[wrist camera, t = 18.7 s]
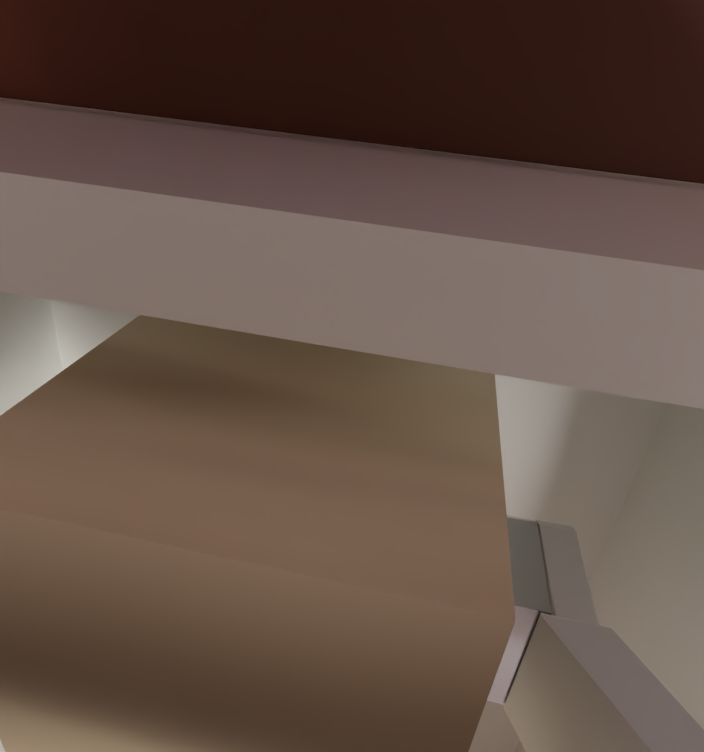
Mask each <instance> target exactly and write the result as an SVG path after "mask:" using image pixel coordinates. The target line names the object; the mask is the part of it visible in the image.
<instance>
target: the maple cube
mask: <svg viewBox="0 0 704 752" xmlns="http://www.w3.org/2000/svg"><path fill="white" fill-rule="evenodd" d="M515 621H516V620H515V608H514V596H513V584H512V573H511V561H510V549H509V537H508V526H507V514H506V502H505V490H504V478H503V467H502V455H501V443H500V431H499V420H498V408H497V396H496V384H495V374H491V373H485V372H479V371H473V370H467V369H461V368H455V367H449V366H443V365H437V364H431V363H425V362H419V361H413V360H407V359H401V358H395V357H389V356H383V355H377V354H371V353H365V352H359V351H353V350H347V349H341V348H335V347H329V346H323V345H317V344H311V343H305V342H299V341H293V340H287V339H281V338H276V337H270V336H264V335H258V334H252V333H246V332H240V331H234V330H228V329H222V328H216V327H210V326H204V325H198V324H192V323H186V322H180V321H174V320H168V319H162V318H156V317H150V316H144V315H139V316H138V317H136V318H135V319H134V320H132V321H131V322H129V323H128V324H127V325H125V326H124V327H123V328H121V329H120V330H118V331H117V332H116V333H114V334H113V335H111V336H110V337H109V338H107V339H106V340H105V341H103V342H102V343H100V344H99V345H98V346H96V347H95V348H93V349H92V350H91V351H89V352H88V353H86V354H85V355H84V356H82V357H81V358H80V359H78V360H77V361H75V362H74V363H73V364H71V365H70V366H68V367H67V368H66V369H64V370H63V371H61V372H60V373H59V374H57V375H56V376H55V377H53V378H52V379H50V380H49V381H48V382H46V383H45V384H43V385H42V386H41V387H39V388H38V389H37V390H35V391H34V392H32V393H31V394H30V395H28V396H27V397H25V398H24V399H23V400H21V401H20V402H18V403H17V404H16V405H14V406H13V407H12V408H10V409H9V410H7V411H6V412H5V413H3V414H2V415H0V740H1V742H2V745H3V747H4V750H5V752H468V751H469V749H470V746H471V743H472V740H473V738H474V735H475V732H476V729H477V726H478V724H479V721H480V718H481V715H482V713H483V710H484V707H485V704H486V701H487V699H488V696H489V693H490V690H491V687H492V685H493V682H494V679H495V676H496V674H497V671H498V668H499V665H500V662H501V660H502V657H503V654H504V651H505V649H506V646H507V643H508V640H509V637H510V635H511V632H512V629H513V626H514V624H515Z"/></svg>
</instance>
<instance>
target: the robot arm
mask: <svg viewBox="0 0 704 752" xmlns="http://www.w3.org/2000/svg"><path fill="white" fill-rule="evenodd" d="M507 526H508V537H509V549H510V561H511V573H512V584H513V596H514V608H515V620H516V621H515V624H514V626H513V629H512V632H511V635H510V637H509V640H508V643H507V646H506V649H505V651H504V654H503V657H502V660H501V662H500V665H499V668H498V671H497V674H496V676H495V679H494V682H493V685H492V687H491V690H490V693H489V696H488V699H487V701H491V702H494V703H498V704H502V705H504V708H503V709H504V710H505V712H506V714H507V716H508V718H509V720H510V722H511V724H512V726H513V728H514V729H515V731H516V733H517V735H518V737H519V739H520V741H521V743H522V745H523V747H524V749H525V750H526V752H704V730H703V729H702V727H701V726H700V725H699V724H698V723H697V722H696V721H695V720H694V719H693V718H692V716H691V715H690V714H689V713H688V712H687V711H686V710H685V709H684V708H683V707H682V705H681V704H680V703H679V702H678V701H677V700H676V699H675V698H674V697H673V695H672V694H671V693H670V692H669V691H668V690H667V689H666V688H665V687H664V686H663V684H662V683H661V682H660V681H659V680H658V679H657V678H656V677H655V676H654V675H653V673H652V672H651V671H650V670H649V669H648V668H647V667H646V666H645V665H644V664H643V662H642V661H641V660H640V659H639V658H638V657H637V656H636V655H635V654H634V652H633V651H632V650H631V649H630V648H629V647H628V646H627V645H626V644H625V643H624V641H623V640H622V639H621V638H620V637H619V636H618V635H617V634H616V633H615V632H614V630H613V629H612V628H608V627H604V626H599V622H598V618H597V614H596V609H595V605H594V601H593V597H592V593H591V589H590V585H589V581H588V577H587V573H586V568H585V564H584V560H583V556H582V552H581V548H580V544H579V540H578V536H577V532H576V531H575V529H574V528H573V527H572V526H568V525H562V524H556V523H551V522H545V521H539V520H535V521H533V520H530V519H524V518H519V517H514V516H508V515H507Z"/></svg>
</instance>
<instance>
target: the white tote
mask: <svg viewBox="0 0 704 752" xmlns="http://www.w3.org/2000/svg"><path fill="white" fill-rule="evenodd" d="M139 315H144V316H150V317H156V318H162V319H168V320H174V321H180V322H186V323H192V324H198V325H204V326H210V327H216V328H222V329H228V330H234V331H240V332H246V333H252V334H258V335H264V336H270V337H276V338H281V339H287V340H293V341H299V342H305V343H311V344H317V345H323V346H329V347H335V348H341V349H347V350H353V351H359V352H365V353H371V354H377V355H383V356H389V357H395V358H401V359H407V360H413V361H419V362H425V363H431V364H437V365H443V366H449V367H455V368H461V369H467V370H473V371H479V372H485V373H491V374H495V384H496V396H497V408H498V420H499V431H500V443H501V455H502V467H503V478H504V490H505V502H506V514H507V515H508V516H514V517H519V518H524V519H530V520H533V521H535V520H539V521H545V522H551V523H556V524H562V525H568V526H572V527H573V528H574V529H575V531H576V532H577V536H578V540H579V544H580V548H581V552H582V556H583V560H584V564H585V568H586V573H587V577H588V581H589V585H590V589H591V593H592V597H593V601H594V605H595V609H596V614H597V618H598V622H599V626H604V627H608V628H612V629H613V630H614V632H615V633H616V634H617V635H618V636H619V637H620V638H621V639H622V640H623V641H624V643H625V644H626V645H627V646H628V647H629V648H630V649H631V650H632V651H633V652H634V654H635V655H636V656H637V657H638V658H639V659H640V660H641V661H642V662H643V664H644V665H645V666H646V667H647V668H648V669H649V670H650V671H651V672H652V673H653V675H654V676H655V677H656V678H657V679H658V680H659V681H660V682H661V683H662V684H663V686H664V687H665V688H666V689H667V690H668V691H669V692H670V693H671V694H672V695H673V697H674V698H675V699H676V700H677V701H678V702H679V703H680V704H681V705H682V707H683V708H684V709H685V710H686V711H687V712H688V713H689V714H690V715H691V716H692V718H693V719H694V720H695V721H696V722H697V723H698V724H699V725H700V726H701V727H702V729H703V730H704V184H701V183H693V182H685V181H677V180H668V179H660V178H652V177H644V176H636V175H628V174H620V173H612V172H603V171H595V170H587V169H579V168H571V167H563V166H555V165H546V164H538V163H530V162H522V161H514V160H506V159H498V158H489V157H481V156H473V155H465V154H457V153H449V152H441V151H433V150H424V149H416V148H408V147H400V146H392V145H384V144H376V143H367V142H359V141H351V140H343V139H335V138H327V137H319V136H310V135H302V134H294V133H286V132H278V131H270V130H262V129H254V128H245V127H237V126H229V125H221V124H213V123H205V122H197V121H188V120H180V119H172V118H164V117H156V116H148V115H140V114H131V113H123V112H115V111H107V110H99V109H91V108H83V107H75V106H66V105H58V104H50V103H42V102H34V101H26V100H18V99H9V98H1V97H0V415H2V414H3V413H5V412H6V411H7V410H9V409H10V408H12V407H13V406H14V405H16V404H17V403H18V402H20V401H21V400H23V399H24V398H25V397H27V396H28V395H30V394H31V393H32V392H34V391H35V390H37V389H38V388H39V387H41V386H42V385H43V384H45V383H46V382H48V381H49V380H50V379H52V378H53V377H55V376H56V375H57V374H59V373H60V372H61V371H63V370H64V369H66V368H67V367H68V366H70V365H71V364H73V363H74V362H75V361H77V360H78V359H80V358H81V357H82V356H84V355H85V354H86V353H88V352H89V351H91V350H92V349H93V348H95V347H96V346H98V345H99V344H100V343H102V342H103V341H105V340H106V339H107V338H109V337H110V336H111V335H113V334H114V333H116V332H117V331H118V330H120V329H121V328H123V327H124V326H125V325H127V324H128V323H129V322H131V321H132V320H134V319H135V318H136V317H138V316H139ZM503 708H504V705H502V704H498V703H494V702H491V701H486V704H485V707H484V710H483V713H482V715H481V718H480V721H479V724H478V726H477V729H476V732H475V735H474V738H473V740H472V743H471V746H470V749H469V751H468V752H526V750H525V749H524V747H523V745H522V743H521V741H520V739H519V737H518V735H517V733H516V731H515V729H514V728H513V726H512V724H511V722H510V720H509V718H508V716H507V714H506V712H505V710H504V709H503ZM0 752H5V750H4V747H3V745H2V742H1V740H0Z"/></svg>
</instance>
